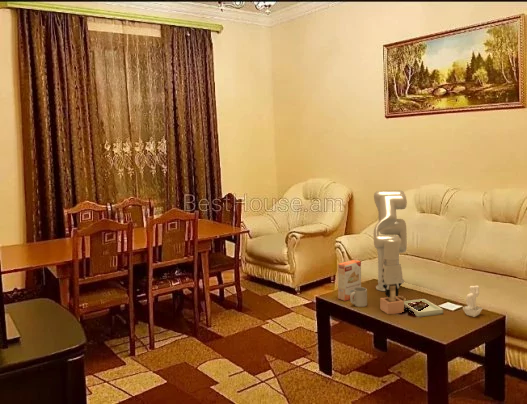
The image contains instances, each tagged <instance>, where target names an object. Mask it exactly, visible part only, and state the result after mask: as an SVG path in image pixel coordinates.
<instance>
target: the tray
mask: <svg viewBox="0 0 527 404" xmlns="http://www.w3.org/2000/svg"><path fill="white" fill-rule="evenodd" d="M403 301H404V305H405V306H407V307H408V308H410V309H411V310H412V311H413V312H414V314H415V315H414V314H413V315H414V316H416V317H417V318H421V317H428V316H429V317H430V316H439V315H443V314H444V309H443V308H441V307H440V306H438V305H436V304H435V303H432V302H431V301H429V300H427V299H425V298H420V299H412V300H411V299H410V300H403ZM420 301H422V302H425V303H427V304H428V305H429V306H428V307H426V308H424V309H423V310H421V311H418V310H416V309H414V308H413V307H411V306H409V305H408V303H411V302H420Z"/></svg>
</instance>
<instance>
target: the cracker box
mask: <svg viewBox="0 0 527 404" xmlns="http://www.w3.org/2000/svg"><path fill="white" fill-rule="evenodd" d="M357 287H362V261H360V260H357V259H352V260H351V259H350V260H348V261H345V262H340V263H337V299H338V300H341V301H344V302H345V301H350V295H351V293H352V292H354V288H357ZM353 299H354V296H353Z"/></svg>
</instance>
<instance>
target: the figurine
mask: <svg viewBox="0 0 527 404" xmlns="http://www.w3.org/2000/svg"><path fill="white" fill-rule="evenodd" d="M479 296H480V285H470V286H469V293H468V294H466V301H465V302H466V306H463V307H462V310H463V312H464V313H465V315H466V316H470V317H473V318H475V317H477V316H480V314H481V313H482V311H483V308H484V307H481V306H477V305H476V304H477V303H476V302H477V297H479Z"/></svg>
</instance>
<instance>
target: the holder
mask: <svg viewBox="0 0 527 404" xmlns="http://www.w3.org/2000/svg"><path fill="white" fill-rule="evenodd" d="M404 301H405V300H402V299H400V298H399V296H396V301H394V302H388V297H387V296H386V297H380V298H379V304H380V305H379V306H380V307H379V308H380V310H381V311H383V313H385V314H387V315H395V314H396V315H397V314H402V312H405V308H404Z"/></svg>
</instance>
